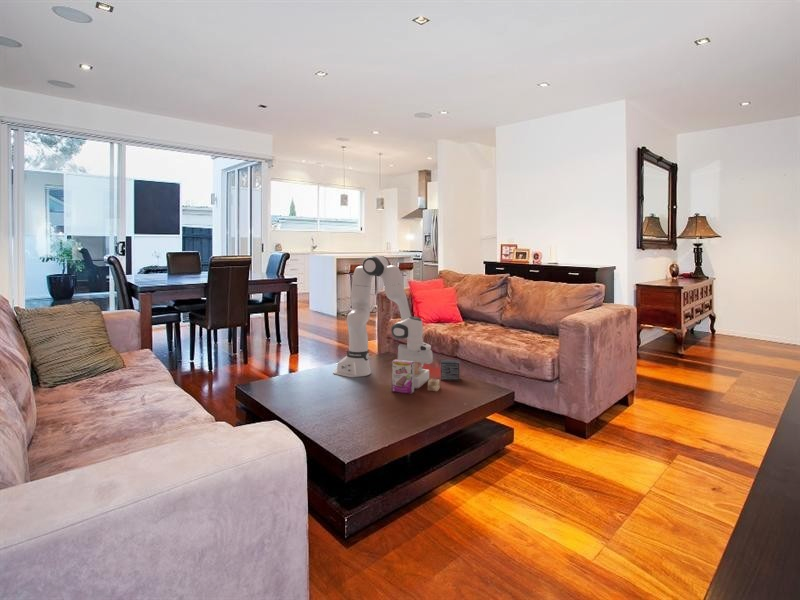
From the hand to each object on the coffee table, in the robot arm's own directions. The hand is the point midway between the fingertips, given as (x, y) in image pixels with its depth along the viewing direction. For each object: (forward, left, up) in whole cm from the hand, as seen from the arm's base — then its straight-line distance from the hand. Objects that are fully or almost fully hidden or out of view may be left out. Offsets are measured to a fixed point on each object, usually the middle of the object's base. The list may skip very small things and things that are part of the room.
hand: (415, 369), depth 255 cm
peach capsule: (0, 0, -2) cm, 2 cm away
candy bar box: (+1, -22, -6) cm, 23 cm away
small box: (+18, +9, -6) cm, 21 cm away
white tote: (0, -5, -6) cm, 8 cm away
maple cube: (+15, -12, -6) cm, 20 cm away
